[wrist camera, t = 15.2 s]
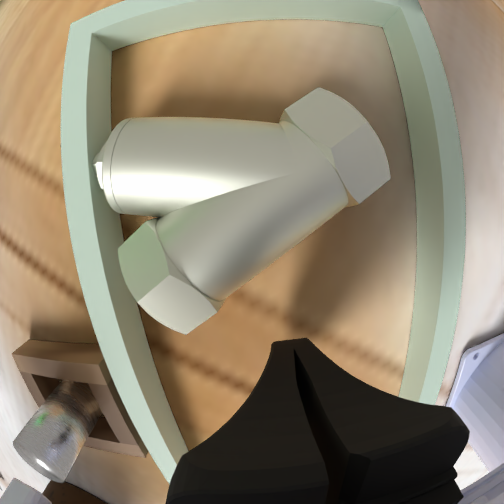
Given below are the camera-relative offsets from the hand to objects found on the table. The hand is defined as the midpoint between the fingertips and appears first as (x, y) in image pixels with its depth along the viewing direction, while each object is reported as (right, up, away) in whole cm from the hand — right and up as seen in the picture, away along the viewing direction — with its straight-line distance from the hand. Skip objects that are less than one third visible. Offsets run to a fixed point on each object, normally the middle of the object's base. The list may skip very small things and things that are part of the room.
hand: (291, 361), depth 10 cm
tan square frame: (-11, -4, +2) cm, 11 cm away
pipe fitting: (-3, +7, 0) cm, 8 cm away
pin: (-11, -4, +2) cm, 12 cm away
